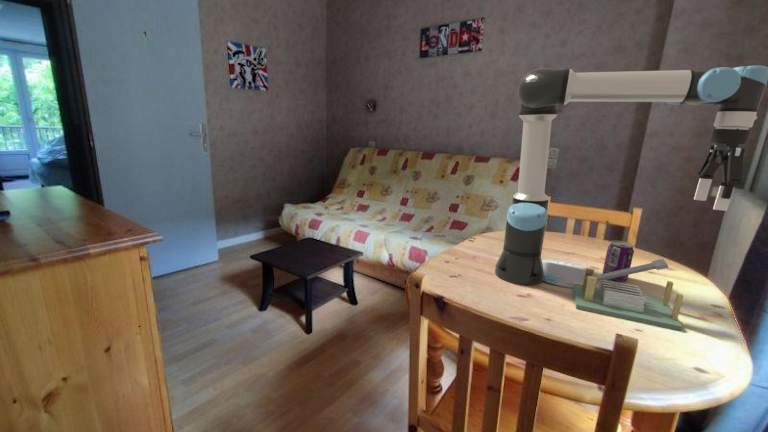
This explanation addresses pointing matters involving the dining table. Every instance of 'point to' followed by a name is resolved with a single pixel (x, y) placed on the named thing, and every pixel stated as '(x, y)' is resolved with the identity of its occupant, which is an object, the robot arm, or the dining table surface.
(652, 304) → the socket board
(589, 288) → the posts
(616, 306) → the block
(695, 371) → the dining table surface
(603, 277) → the strap
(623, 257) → the beverage can
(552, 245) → the dining table surface
